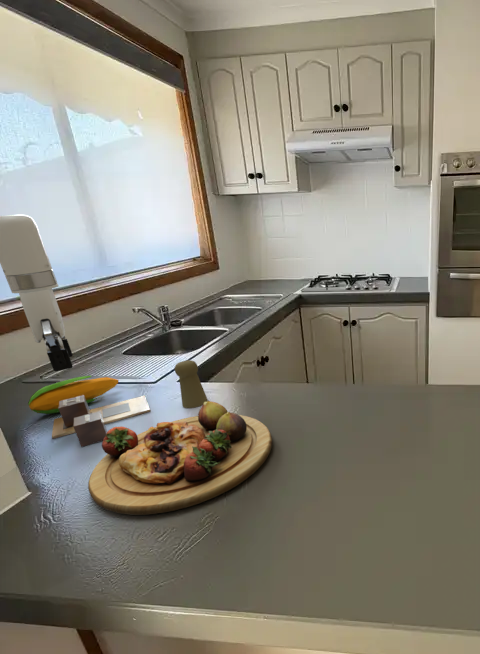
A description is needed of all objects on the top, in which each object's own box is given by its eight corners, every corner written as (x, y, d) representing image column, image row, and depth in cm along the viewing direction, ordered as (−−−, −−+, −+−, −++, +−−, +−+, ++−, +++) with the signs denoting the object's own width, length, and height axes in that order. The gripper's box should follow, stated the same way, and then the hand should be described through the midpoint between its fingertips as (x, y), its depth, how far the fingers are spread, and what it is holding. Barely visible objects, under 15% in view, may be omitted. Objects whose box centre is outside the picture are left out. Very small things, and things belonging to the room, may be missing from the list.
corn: (20, 387, 104) (109, 362, 117) (31, 414, 107) (117, 387, 120) (25, 396, 99) (118, 370, 112) (37, 424, 102) (126, 395, 115)
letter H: (65, 427, 97) (58, 407, 95) (66, 419, 101) (59, 400, 99) (91, 420, 100) (83, 401, 98) (90, 413, 103) (83, 394, 102)
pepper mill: (192, 409, 102) (181, 367, 98) (177, 405, 106) (165, 364, 102) (212, 399, 107) (203, 359, 103) (197, 396, 110) (187, 356, 106)
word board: (52, 439, 94) (51, 436, 93) (55, 421, 102) (53, 418, 102) (150, 411, 103) (149, 409, 103) (145, 397, 112) (144, 394, 112)
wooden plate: (47, 500, 73) (29, 459, 70) (184, 415, 100) (175, 383, 97) (194, 537, 62) (180, 490, 58) (302, 430, 89) (296, 394, 86)
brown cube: (81, 447, 89) (73, 426, 87) (81, 437, 93) (73, 417, 91) (108, 439, 92) (100, 418, 90) (107, 430, 96) (100, 410, 94)
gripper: (14, 281, 88) (44, 358, 94) (3, 290, 74) (40, 379, 81) (57, 275, 92) (84, 349, 98) (54, 283, 78) (85, 369, 84)
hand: (64, 363), depth 89 cm, fingers open, 9 cm apart
